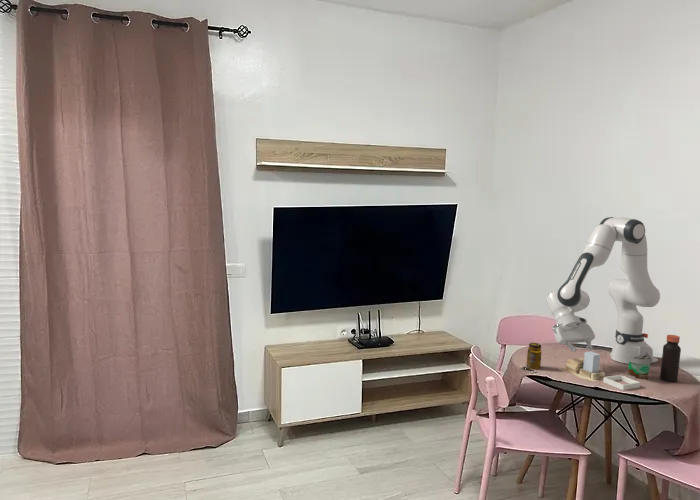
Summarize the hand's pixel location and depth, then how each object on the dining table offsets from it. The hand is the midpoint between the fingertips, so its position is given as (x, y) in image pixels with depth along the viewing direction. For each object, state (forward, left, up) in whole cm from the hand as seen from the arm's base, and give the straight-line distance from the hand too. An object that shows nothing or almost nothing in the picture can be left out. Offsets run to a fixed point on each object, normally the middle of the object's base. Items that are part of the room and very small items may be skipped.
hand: (582, 350), depth 258 cm
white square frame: (-4, +18, -11) cm, 22 cm away
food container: (-21, +14, -11) cm, 28 cm away
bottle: (-32, +19, -11) cm, 39 cm away
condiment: (+18, -12, -11) cm, 24 cm away
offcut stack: (0, -2, -10) cm, 10 cm away
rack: (0, +2, -11) cm, 11 cm away
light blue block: (0, +5, -10) cm, 11 cm away
